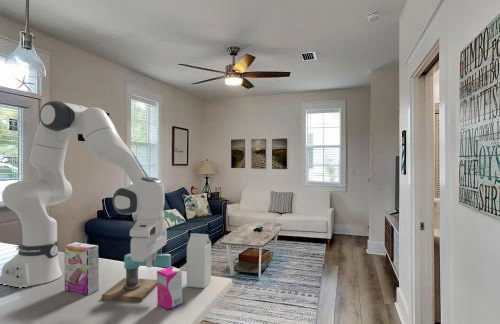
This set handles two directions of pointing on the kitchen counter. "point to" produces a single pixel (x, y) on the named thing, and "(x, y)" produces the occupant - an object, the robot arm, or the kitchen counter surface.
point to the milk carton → (198, 261)
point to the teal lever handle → (160, 261)
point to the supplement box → (169, 288)
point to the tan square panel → (130, 288)
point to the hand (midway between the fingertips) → (150, 265)
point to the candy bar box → (81, 268)
